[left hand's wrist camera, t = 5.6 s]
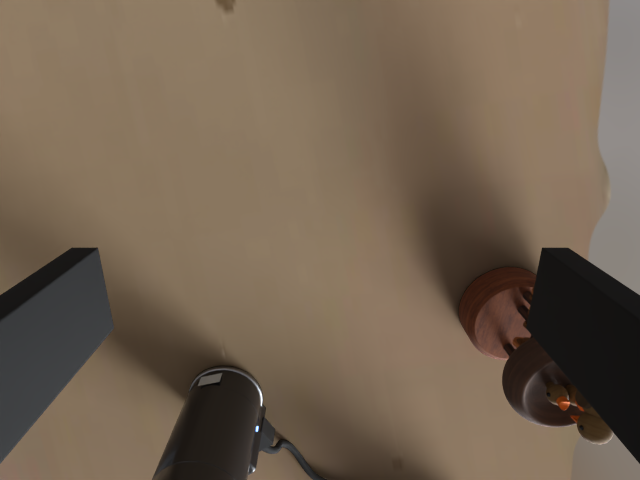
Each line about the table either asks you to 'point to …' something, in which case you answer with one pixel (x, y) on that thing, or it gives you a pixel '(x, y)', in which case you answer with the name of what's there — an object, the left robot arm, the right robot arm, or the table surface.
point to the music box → (524, 354)
